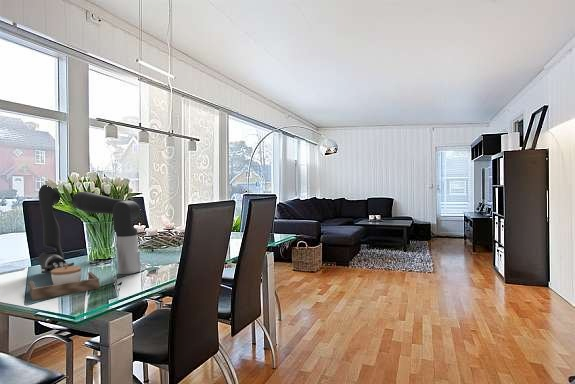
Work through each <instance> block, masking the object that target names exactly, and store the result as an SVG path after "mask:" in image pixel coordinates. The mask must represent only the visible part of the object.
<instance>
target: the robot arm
mask: <svg viewBox="0 0 575 384" xmlns="http://www.w3.org/2000/svg"><path fill="white" fill-rule="evenodd" d="M46 184H47V183H46ZM46 184H43V185H41V186H40V188H39V190H38V202H39V207H40V214H41V219H42V228H43V230H42V231H43V232H42V235H43V239H42V240H43V241H42V243H43V246H44V247H45V248H52V249H54V250H55V251H46V252H42V253H40V254H39V256H38V264H39V266H40V270H41V274H51V270H53V269H56V268H61V267H65V265H68V266H75V262H69V263H68V262H67V261H66V260H65V256H64V253H63V250H62V245H61V228H60V225H59V223H58V220H57V218H56V216H55V213H54V207H53V205H58V204H57V203H58V202H59V200H60V196H59V194H58V191H57V190H56V189H55V188H53V189H52V188H51V187H49V186H48V187H47V185H46ZM72 203H73V205H74V206H73V207H74V208H75V209H77V210H80V211H83V212H87V213H90V214H91V213H93V214H102V213H104V214H109V215H112V222H113V223H112V224H113V225H114V230H115V232H116V237H115V246H116V264H117V265H116V267H117V268H116V269H117V274H119V275H129V274H135V273H139V272H141V258H140V257H141V255H140V253H141V252H140V250H139V244H138V243H139V241H138V240H139V239H138V228H136V227H134V226H133V225H132V220H135V219H137V218H138V217H139V216H140V214H141V207H140V205H139V204H138V203H137V202H136V201H135V200H134V201H133V200H128V199H126V200H125V199H118V198H112V197H111V196H110V197H109V196H105V195H101V194H98V193H93V192H89V191H83V192H79V193H77V194H75V195H74V197H73V199H72Z"/></svg>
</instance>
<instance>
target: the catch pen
mask: <svg viewBox="0 0 575 384" xmlns="http://www.w3.org/2000/svg"><path fill="white" fill-rule="evenodd" d="M87 274H88V275H87V276H88V277H87V278H88V279H82V280H80V281H76V282H69V283H63V284H57V285H54V284H52V285H46V286H38V287H36V285H35V283H34V281H33V280H28V287H29V294H30V296H31V300H32V301H35V300H40V299H45V298H52V297H57V296H58V297H59V296H64V295H70V294H76V293H81V292H80V291H82V292H86V290H87V291H92V290H98V289H100V278H99V277H98V276H97V275H96V274H95V273H93V272H92V271H88V272H87ZM75 292H76V293H75Z"/></svg>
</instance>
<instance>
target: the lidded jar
mask: <svg viewBox="0 0 575 384" xmlns="http://www.w3.org/2000/svg"><path fill="white" fill-rule="evenodd" d="M50 275H51V281H52V285H57V284H63V283H69V282H76V281H81V278H82V267H81V266H78V265H74V266H68V265H65V267H61V268H56V269H53V270H51V273H50Z"/></svg>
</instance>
